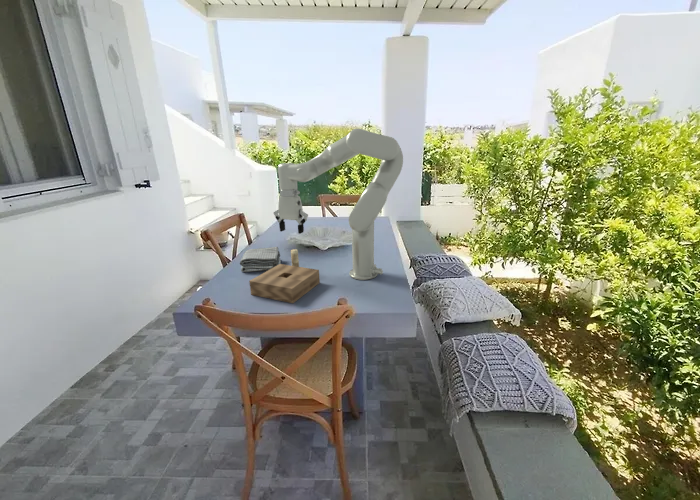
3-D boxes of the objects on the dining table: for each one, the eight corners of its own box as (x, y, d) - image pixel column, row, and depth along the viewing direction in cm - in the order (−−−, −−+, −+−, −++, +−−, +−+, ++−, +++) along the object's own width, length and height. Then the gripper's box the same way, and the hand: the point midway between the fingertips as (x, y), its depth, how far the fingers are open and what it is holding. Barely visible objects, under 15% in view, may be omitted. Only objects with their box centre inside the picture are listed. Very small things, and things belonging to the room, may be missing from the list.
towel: (245, 262, 165) (243, 248, 163) (282, 259, 168) (280, 245, 165) (240, 273, 151) (238, 258, 148) (280, 270, 153) (278, 254, 151)
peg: (300, 272, 150) (299, 249, 147) (297, 274, 147) (295, 251, 144) (295, 271, 151) (293, 248, 148) (291, 273, 149) (289, 250, 145)
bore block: (319, 282, 138) (318, 269, 136) (293, 303, 120) (291, 288, 119) (281, 276, 146) (280, 263, 144) (251, 294, 129) (249, 280, 127)
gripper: (310, 193, 138) (312, 231, 143) (277, 191, 144) (280, 228, 150) (301, 195, 131) (303, 236, 137) (267, 193, 138) (270, 232, 143)
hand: (291, 231), depth 143 cm, fingers open, 9 cm apart
